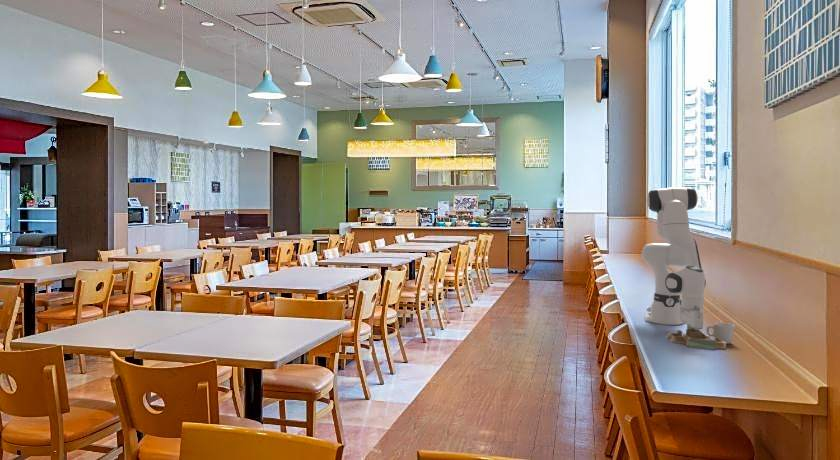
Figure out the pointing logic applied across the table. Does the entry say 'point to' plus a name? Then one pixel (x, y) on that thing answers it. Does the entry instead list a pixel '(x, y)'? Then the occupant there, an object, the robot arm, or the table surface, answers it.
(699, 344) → the wooden flat frame
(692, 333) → the block
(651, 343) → the table surface
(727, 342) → the cup
